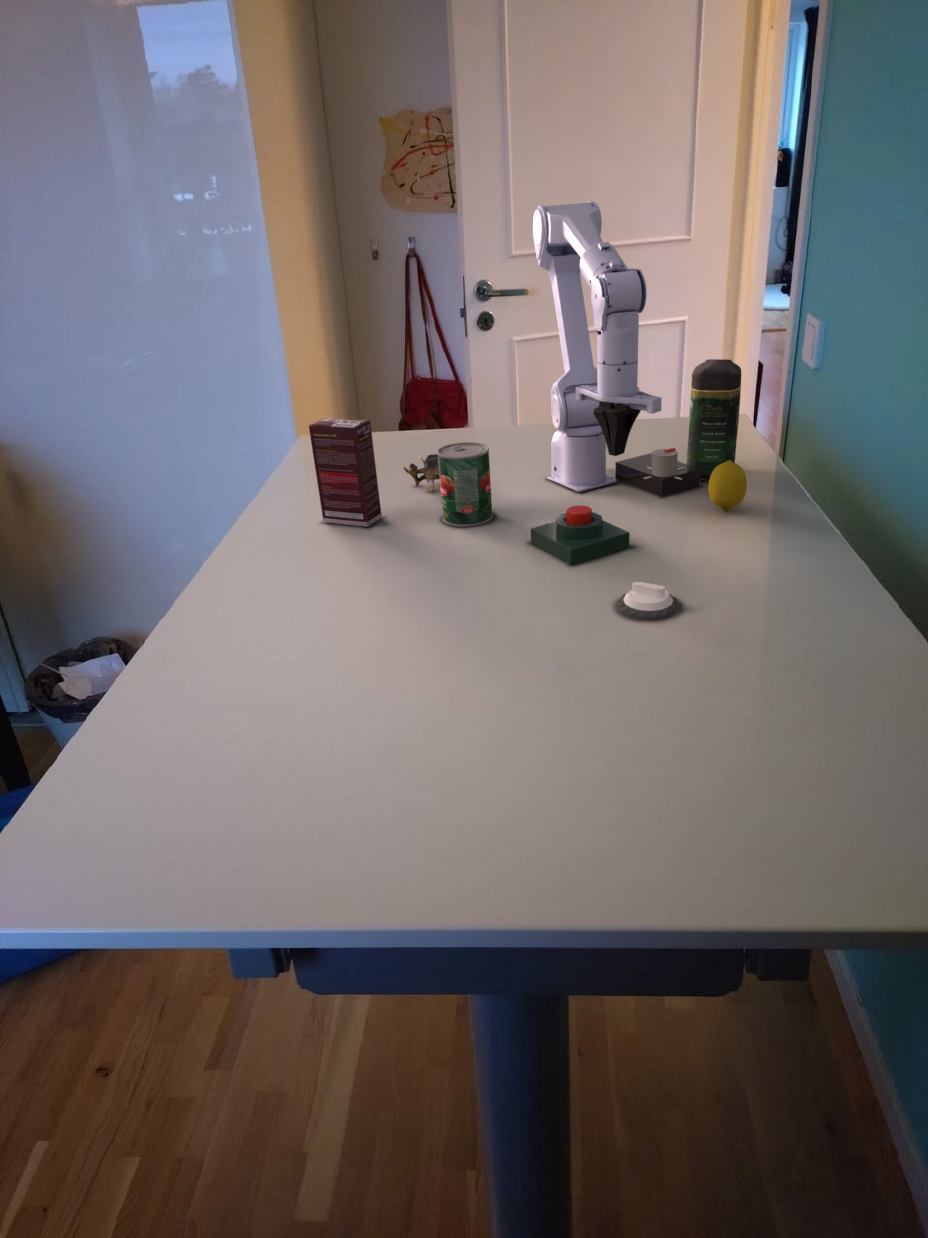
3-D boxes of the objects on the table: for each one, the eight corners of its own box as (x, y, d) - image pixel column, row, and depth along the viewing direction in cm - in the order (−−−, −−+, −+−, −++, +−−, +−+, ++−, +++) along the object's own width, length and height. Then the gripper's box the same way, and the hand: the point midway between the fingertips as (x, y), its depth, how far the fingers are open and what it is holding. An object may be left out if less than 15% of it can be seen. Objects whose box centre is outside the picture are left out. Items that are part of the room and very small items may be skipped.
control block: (530, 543, 130) (529, 517, 128) (586, 527, 134) (586, 501, 132) (571, 565, 122) (570, 537, 120) (629, 547, 126) (629, 520, 124)
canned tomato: (502, 518, 139) (499, 449, 134) (458, 530, 136) (453, 460, 131) (475, 505, 145) (471, 439, 141) (433, 516, 142) (427, 449, 137)
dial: (662, 478, 142) (663, 455, 140) (646, 472, 145) (646, 449, 143) (682, 473, 143) (683, 450, 142) (665, 467, 147) (666, 445, 145)
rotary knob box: (605, 481, 152) (605, 463, 150) (651, 469, 156) (652, 451, 154) (660, 503, 141) (661, 484, 139) (709, 489, 145) (710, 470, 143)
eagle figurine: (403, 490, 151) (453, 482, 148) (401, 449, 152) (451, 440, 149) (421, 500, 158) (469, 493, 155) (419, 461, 159) (467, 453, 156)
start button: (561, 520, 127) (561, 509, 126) (581, 515, 128) (581, 503, 127) (576, 528, 124) (576, 516, 123) (597, 522, 125) (597, 510, 125)
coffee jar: (733, 482, 147) (742, 367, 138) (684, 481, 149) (689, 368, 141) (735, 464, 155) (743, 355, 147) (688, 463, 157) (694, 355, 149)
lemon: (746, 518, 133) (750, 466, 129) (707, 517, 134) (710, 466, 130) (743, 505, 137) (747, 454, 134) (706, 505, 139) (709, 454, 135)
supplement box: (383, 517, 143) (372, 419, 136) (368, 528, 140) (355, 427, 132) (337, 512, 147) (324, 416, 140) (321, 522, 143) (306, 424, 136)
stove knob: (665, 625, 105) (666, 603, 103) (607, 613, 108) (608, 592, 107) (687, 600, 110) (688, 578, 109) (631, 590, 114) (631, 569, 112)
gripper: (676, 361, 125) (672, 455, 131) (597, 351, 135) (597, 439, 141) (644, 370, 121) (641, 467, 127) (565, 359, 131) (566, 450, 137)
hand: (616, 453), depth 134 cm, fingers closed
